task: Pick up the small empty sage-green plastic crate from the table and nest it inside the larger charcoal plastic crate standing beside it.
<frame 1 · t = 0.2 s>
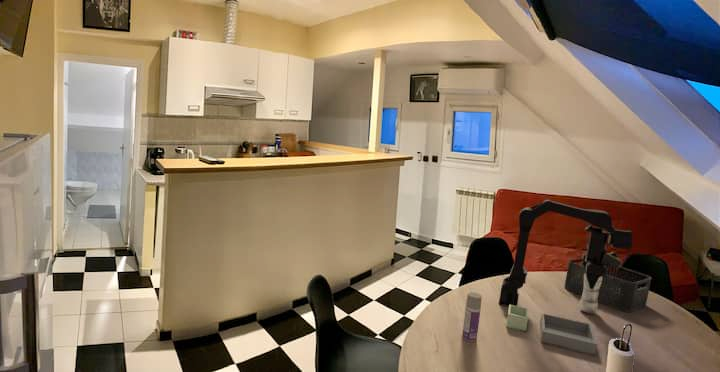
hand: (590, 284, 154), 14 cm above the table, tool pointing down, fingers open, 9 cm apart
large crate: (565, 338, 141), on the table
plastic bottle: (587, 312, 165), on the table
container: (469, 338, 136), on the table
storage bin: (603, 297, 183), on the table
small crate: (516, 324, 149), on the table
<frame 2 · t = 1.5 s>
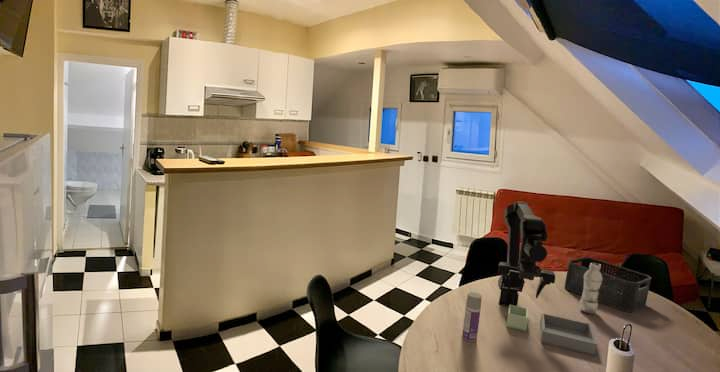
hand: (522, 295, 147), 11 cm above the table, tool pointing down, fingers open, 9 cm apart
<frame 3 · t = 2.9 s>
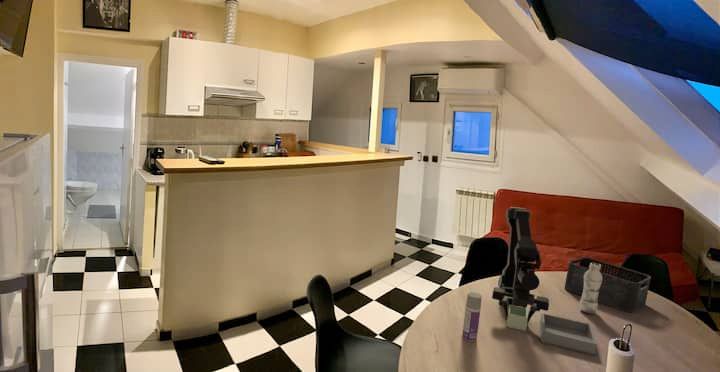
hand: (516, 320, 149), 1 cm above the table, tool pointing down, fingers closed on small crate, 6 cm apart
small crate: (516, 324, 149), on the table, touching gripper
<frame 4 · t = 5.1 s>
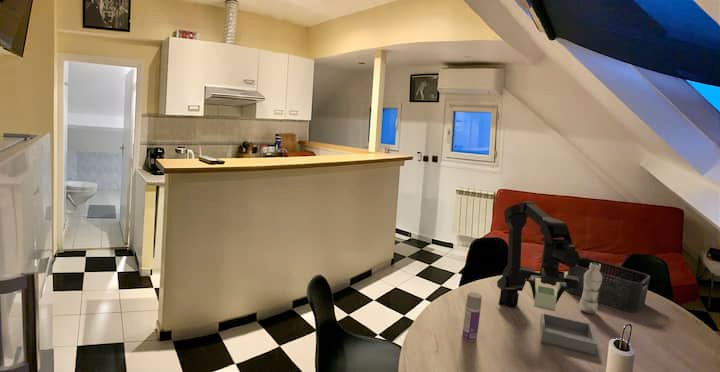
hand: (544, 300, 143), 11 cm above the table, tool pointing down, fingers closed on small crate, 6 cm apart
small crate: (544, 304, 143), point 10 cm above the table, touching gripper
when the fingers open (3 cm above the table, at t = 7.5 s): small crate drops 2 cm, resting on large crate.
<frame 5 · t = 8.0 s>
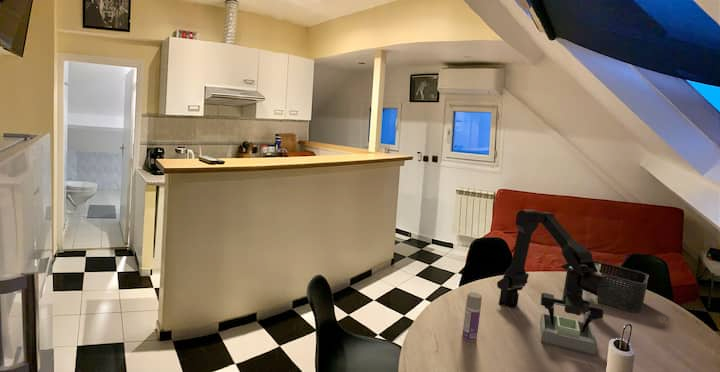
hand: (567, 328, 140), 3 cm above the table, tool pointing down, fingers open, 9 cm apart
small crate: (565, 336, 141), point 1 cm above the table, touching large crate
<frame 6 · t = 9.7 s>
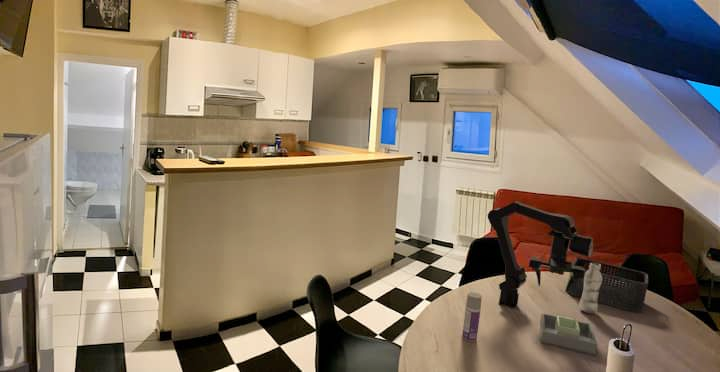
hand: (552, 288, 155), 12 cm above the table, tool pointing down, fingers open, 9 cm apart
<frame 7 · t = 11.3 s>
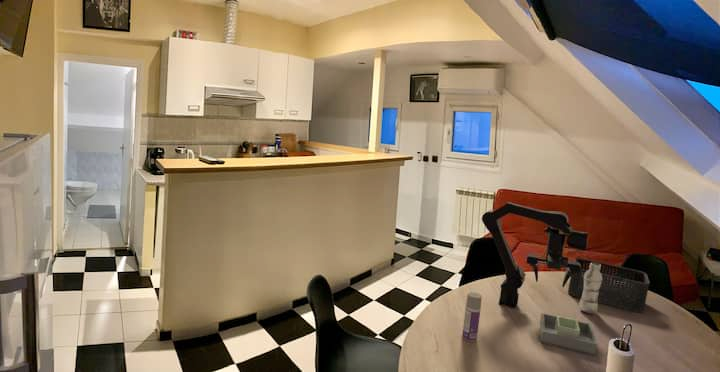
hand: (549, 284, 158), 12 cm above the table, tool pointing down, fingers open, 9 cm apart
at the end: small crate inside the target area on the large crate (0.1 cm from its centre), point 0.6 cm above the large crate's base; small crate tilted 0°; the gripper is holding nothing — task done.
